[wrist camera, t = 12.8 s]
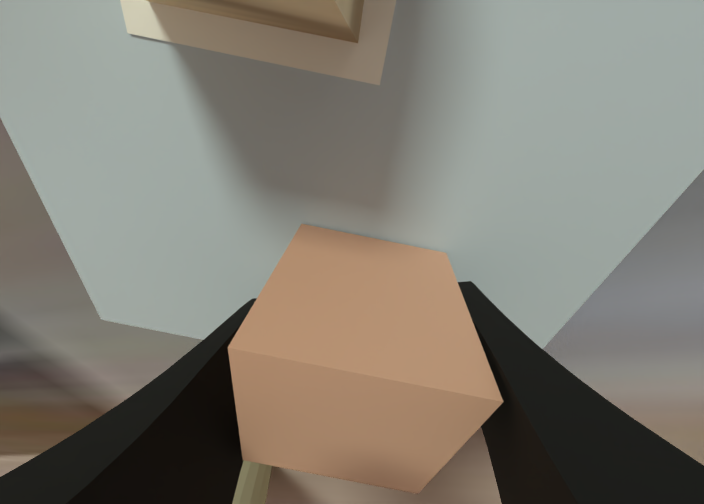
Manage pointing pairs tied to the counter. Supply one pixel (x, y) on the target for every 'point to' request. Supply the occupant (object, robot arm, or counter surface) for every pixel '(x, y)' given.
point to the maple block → (287, 14)
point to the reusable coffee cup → (252, 483)
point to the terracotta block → (359, 363)
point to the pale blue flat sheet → (353, 143)
